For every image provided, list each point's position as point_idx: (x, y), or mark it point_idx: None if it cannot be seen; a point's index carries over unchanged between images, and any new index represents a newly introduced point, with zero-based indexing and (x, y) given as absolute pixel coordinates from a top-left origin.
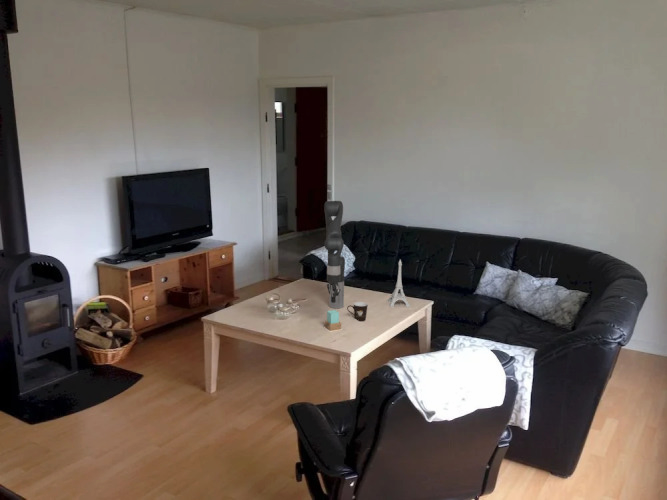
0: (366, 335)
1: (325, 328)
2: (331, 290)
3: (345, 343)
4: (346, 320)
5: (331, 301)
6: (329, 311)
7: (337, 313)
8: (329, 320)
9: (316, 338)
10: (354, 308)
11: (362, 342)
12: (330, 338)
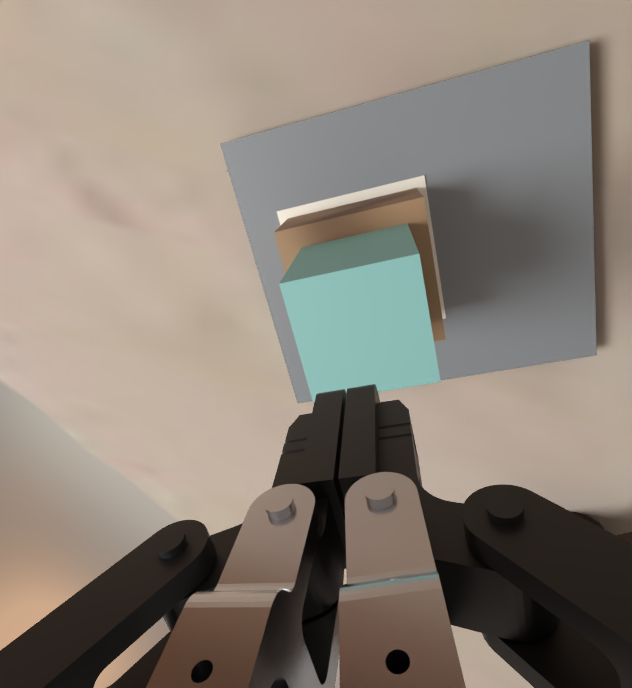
0: (206, 476)
1: (381, 189)
2: (218, 679)
3: (42, 284)
4: (593, 450)
5: (348, 394)
6: (390, 287)
7: (308, 377)
8: (336, 244)
9: (170, 27)
10: None
11: (68, 409)
12: (161, 184)
